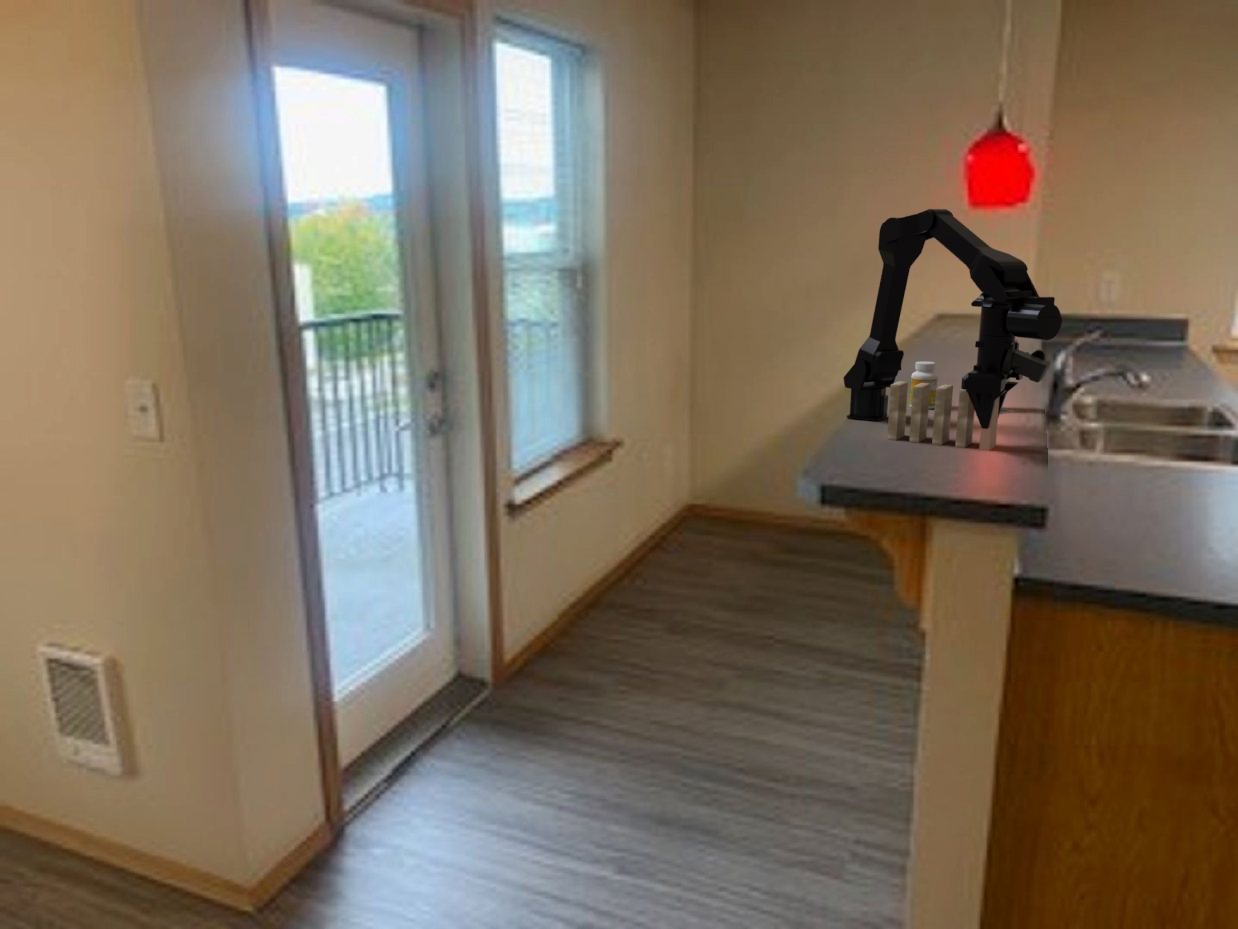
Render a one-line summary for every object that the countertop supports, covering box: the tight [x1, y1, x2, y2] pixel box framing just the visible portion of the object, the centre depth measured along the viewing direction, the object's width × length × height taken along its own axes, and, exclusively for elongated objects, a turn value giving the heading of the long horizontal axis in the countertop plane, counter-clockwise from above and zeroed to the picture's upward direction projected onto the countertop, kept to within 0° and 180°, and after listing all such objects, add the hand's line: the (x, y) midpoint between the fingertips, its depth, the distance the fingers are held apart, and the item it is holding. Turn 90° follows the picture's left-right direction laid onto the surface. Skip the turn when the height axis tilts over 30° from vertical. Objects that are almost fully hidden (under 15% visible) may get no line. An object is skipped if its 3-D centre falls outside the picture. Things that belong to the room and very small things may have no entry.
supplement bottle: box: [908, 360, 938, 410], centre depth 198 cm, size 5×5×10 cm
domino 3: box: [931, 384, 954, 446], centre depth 163 cm, size 2×5×10 cm, turn 146°
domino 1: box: [886, 380, 909, 441], centre depth 168 cm, size 2×5×10 cm, turn 146°
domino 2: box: [908, 383, 930, 444], centre depth 165 cm, size 2×5×10 cm, turn 146°
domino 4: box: [955, 388, 975, 449], centre depth 161 cm, size 2×5×10 cm, turn 146°
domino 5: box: [978, 397, 999, 451], centre depth 159 cm, size 2×5×10 cm, turn 146°
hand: (989, 425), depth 159 cm, fingers open, 6 cm apart
